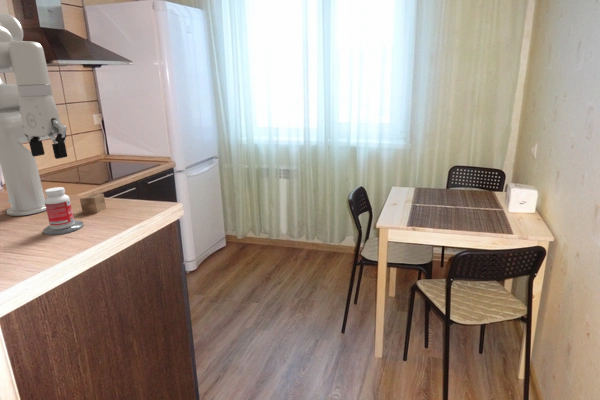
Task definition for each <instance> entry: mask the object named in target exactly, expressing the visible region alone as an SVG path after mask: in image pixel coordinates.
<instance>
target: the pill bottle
mask: <svg viewBox="0 0 600 400" xmlns="http://www.w3.org/2000/svg"><path fill="white" fill-rule="evenodd" d="M65 193H66V189H65V187H62V186H60V187H59V186H58V187H50V188H47V189H45V190H44V195H45V197H46V198H45V201H44V202H45V207H46V210H45V211H46V214H47V218H48V219H47V220H48V223H49V226H50V227H51V228H52V229H54V230H59V229H65V228H69V227H71V226H73V225H74V224H75V221H74V220H75V217H74V213H73V208H72V203H71V200H70V199H71V198H70V196H69V195H67V194H65Z"/></svg>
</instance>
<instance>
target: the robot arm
mask: <svg viewBox="0 0 600 400" xmlns="http://www.w3.org/2000/svg"><path fill="white" fill-rule="evenodd" d="M1 73H2V74H3V73H4V74H5V73H13V77H14V81H15V84H13V83H12V84H9V83H5V82H4V81H3V79H2V77H1V76H0V169H1V172H2V173H1V174H2V177H3V181H4V184H5V187H6V191H7V195H8V199H7V203H9V204H10V208H8V209H7V210H6V214H7V215H8V216H12V217H13V216H14V217H15V216H16V217H18V216H19V217H20V216H28V215H34V214H38V213H42V212H45V211H46V207H45V202H44V201H45V199H46V198H45V197H46V196H45V192H44V189H43V185H42V180H41V176H40V173H39V169H38V163H37V159H36V157H38V156H39V157H40V156H45V148H44V145H43V141H44V140H48V139H50V140H51V142H52V144H51V145H52V151H53V155H54V159H58V160H59V159H64V158H68V151H67V147H66V142H67V140H66V138H67V127H66V125H65V124H63V123H62V122H61V118H60V114H59V111H58V108H57V107H58V106H57V105H56V101H55V99H54V94H53V89H52V84H51V81H50V75H49V71H48V65H47V61H46V56H45V51H44V48H43V46H42V45H41V43H39V42H37V41H30V40H29V41H28V40H26V41H25V40H24V29H23V27H22V25H21V23H20V21H19V20H18V19H17V18H16V17H15V16H14V15H11V14H8V13H1V12H0V74H1ZM25 143H29V149H28V148H27V147H25V145H23V144H25Z"/></svg>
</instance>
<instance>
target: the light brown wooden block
mask: <svg viewBox="0 0 600 400" xmlns="http://www.w3.org/2000/svg"><path fill="white" fill-rule="evenodd" d="M79 202H80V206H81V211H82V214H98V213H100V212H102V211H104V210H105V209H106V208H107V205H106V199H105V195H104V193H87V194H86V195H83V196H82V197H80V198H79ZM101 210H102V211H101Z"/></svg>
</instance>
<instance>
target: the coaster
mask: <svg viewBox="0 0 600 400" xmlns="http://www.w3.org/2000/svg"><path fill="white" fill-rule="evenodd" d="M74 221H75V224H74V225H73V226H71V227H69V228H65V229H59V230H54V229H52V228H51V227H50V225H47V226H46V227H44V228H43V230H42V232H43V234H44V235H46V236H59V235H65V234H69V233H73V232H75V231H79V230H80V229H81V228H83V227H84V226H85V225H84V222H83V221H81V220H75V219H74Z"/></svg>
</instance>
